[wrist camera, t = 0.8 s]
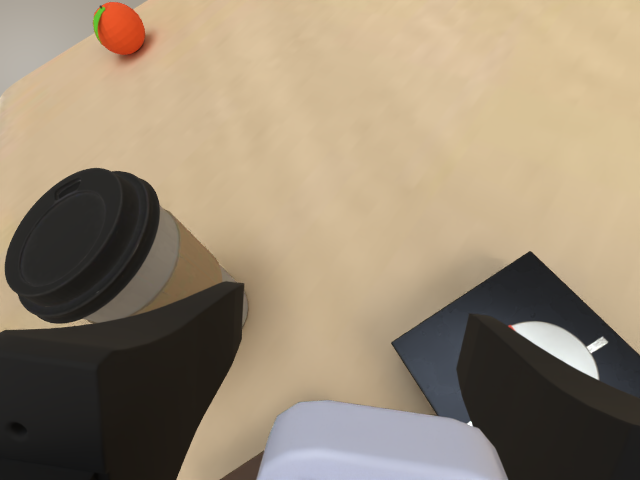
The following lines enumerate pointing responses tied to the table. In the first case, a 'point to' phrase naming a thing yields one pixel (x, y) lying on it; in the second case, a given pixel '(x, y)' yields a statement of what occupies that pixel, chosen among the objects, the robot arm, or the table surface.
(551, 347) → the dial
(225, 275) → the coffee cup
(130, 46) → the clementine
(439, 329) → the panel
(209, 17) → the table surface
